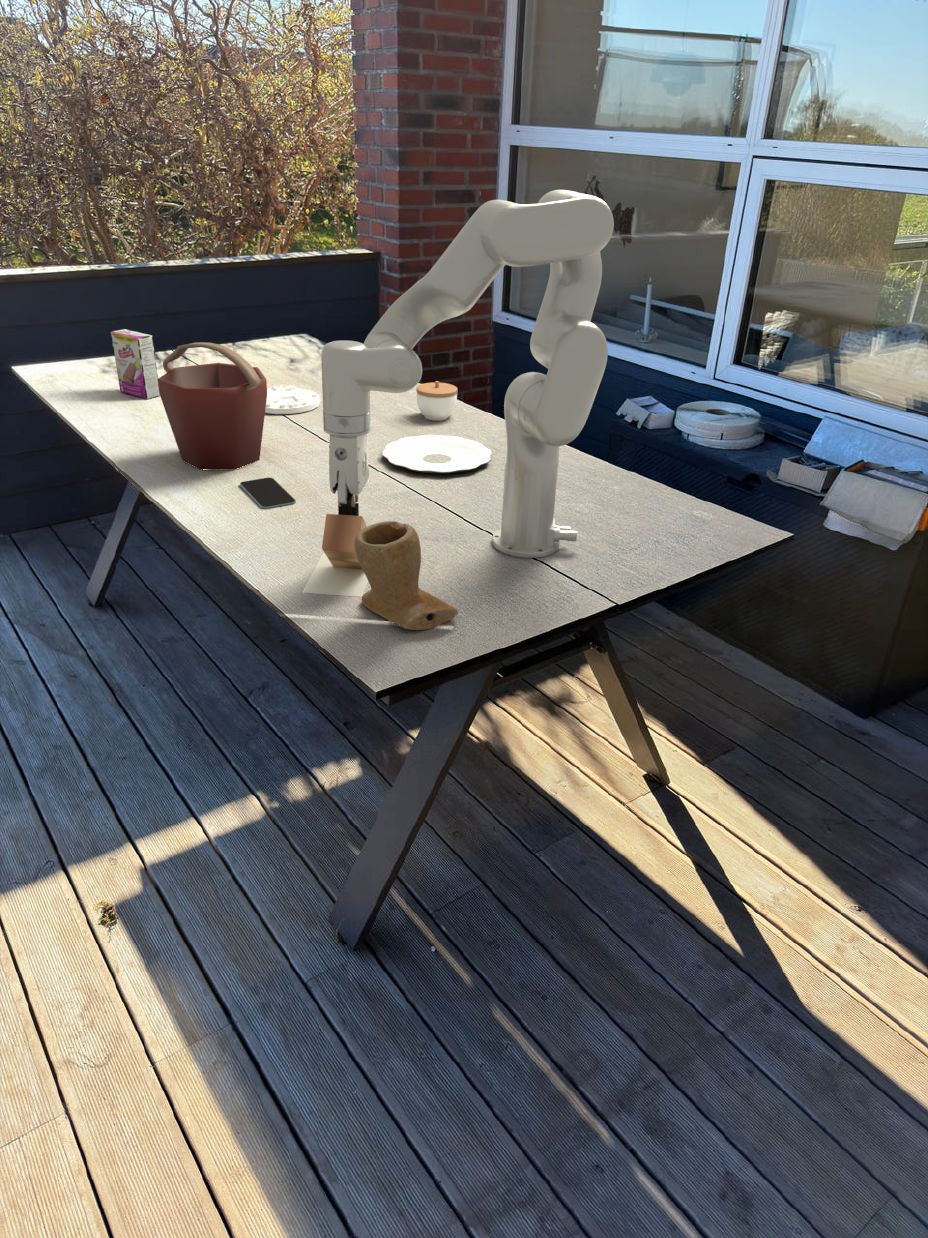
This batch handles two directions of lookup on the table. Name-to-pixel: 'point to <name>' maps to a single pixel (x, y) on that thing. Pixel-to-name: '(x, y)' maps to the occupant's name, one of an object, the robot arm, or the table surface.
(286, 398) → the white round plaque
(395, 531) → the clay platform pipe
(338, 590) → the mat
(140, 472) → the table surface
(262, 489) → the smartphone
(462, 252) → the robot arm
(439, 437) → the plate
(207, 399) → the bucket
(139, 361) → the candy bar box
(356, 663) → the table surface
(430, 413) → the lidded jar
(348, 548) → the oak block
